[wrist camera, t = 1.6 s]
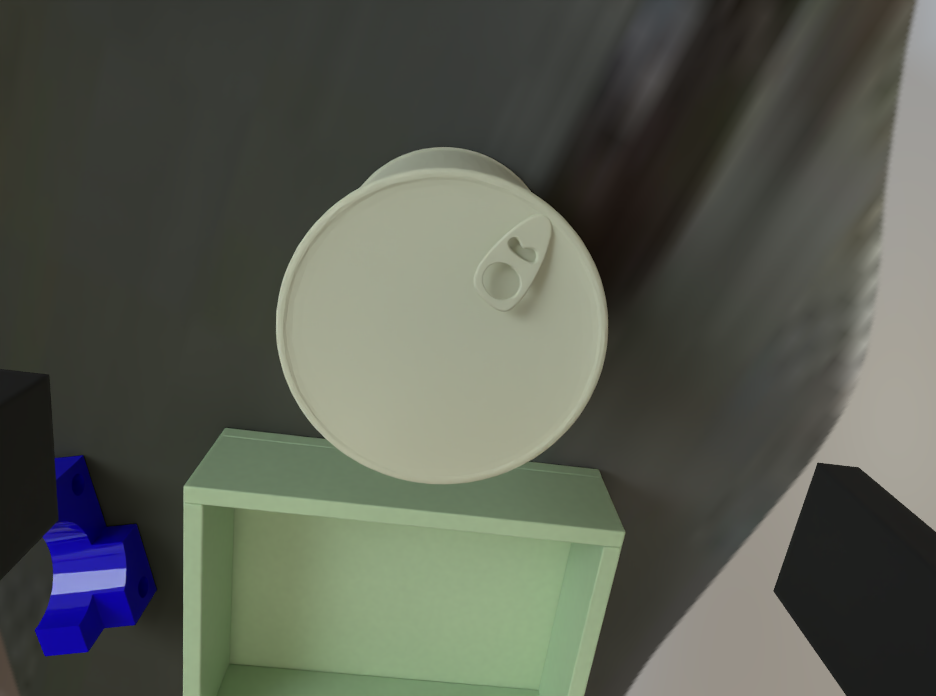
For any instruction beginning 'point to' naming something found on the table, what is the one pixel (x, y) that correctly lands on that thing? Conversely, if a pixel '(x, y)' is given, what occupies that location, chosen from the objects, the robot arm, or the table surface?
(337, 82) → the table surface
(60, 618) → the cable holder
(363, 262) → the can
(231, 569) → the bin
